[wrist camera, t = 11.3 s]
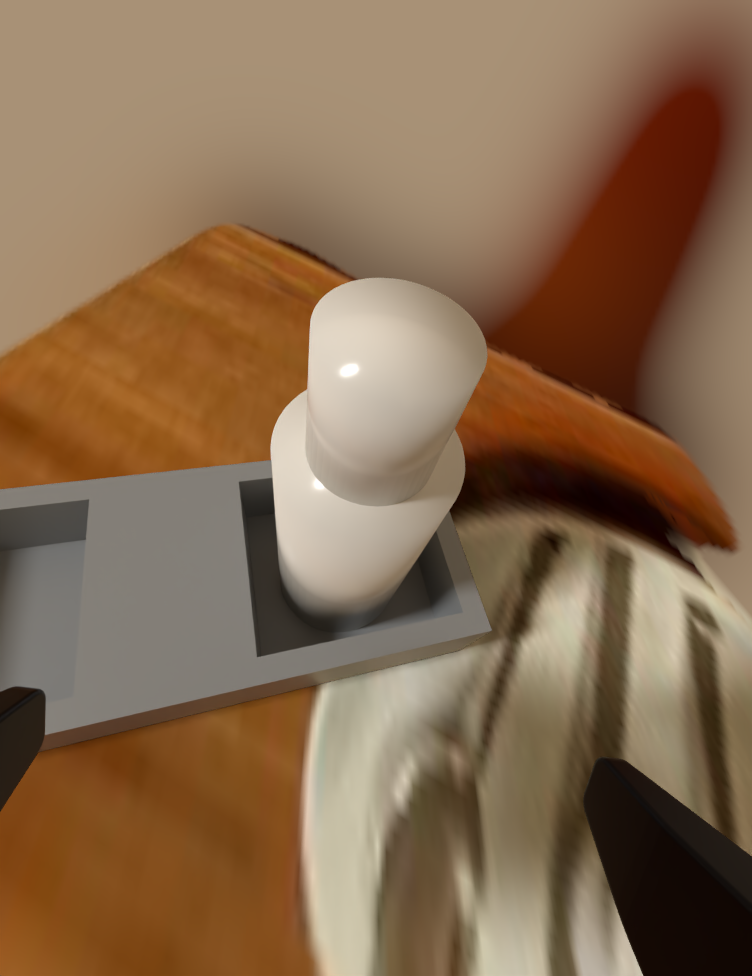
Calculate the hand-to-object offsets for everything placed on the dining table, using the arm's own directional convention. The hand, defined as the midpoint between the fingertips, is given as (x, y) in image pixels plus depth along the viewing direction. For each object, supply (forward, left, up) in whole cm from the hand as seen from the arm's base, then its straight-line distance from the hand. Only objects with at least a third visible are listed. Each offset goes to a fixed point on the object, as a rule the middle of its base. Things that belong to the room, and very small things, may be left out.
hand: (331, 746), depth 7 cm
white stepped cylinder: (+3, -5, -9) cm, 11 cm away
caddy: (+7, -1, -10) cm, 12 cm away
